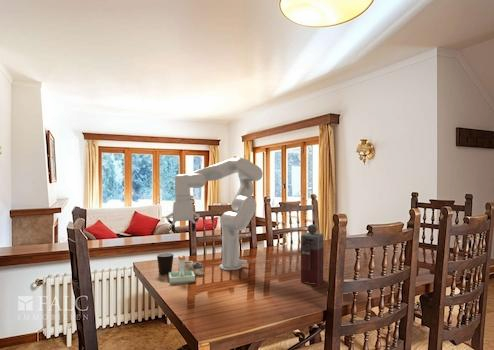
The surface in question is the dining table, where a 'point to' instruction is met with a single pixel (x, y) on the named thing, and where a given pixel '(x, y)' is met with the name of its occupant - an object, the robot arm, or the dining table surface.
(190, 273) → the tray
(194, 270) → the pulley block
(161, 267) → the coffee mug
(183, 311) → the dining table surface
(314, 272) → the dark red bottle
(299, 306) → the dining table surface
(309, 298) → the dining table surface
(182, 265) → the pin
